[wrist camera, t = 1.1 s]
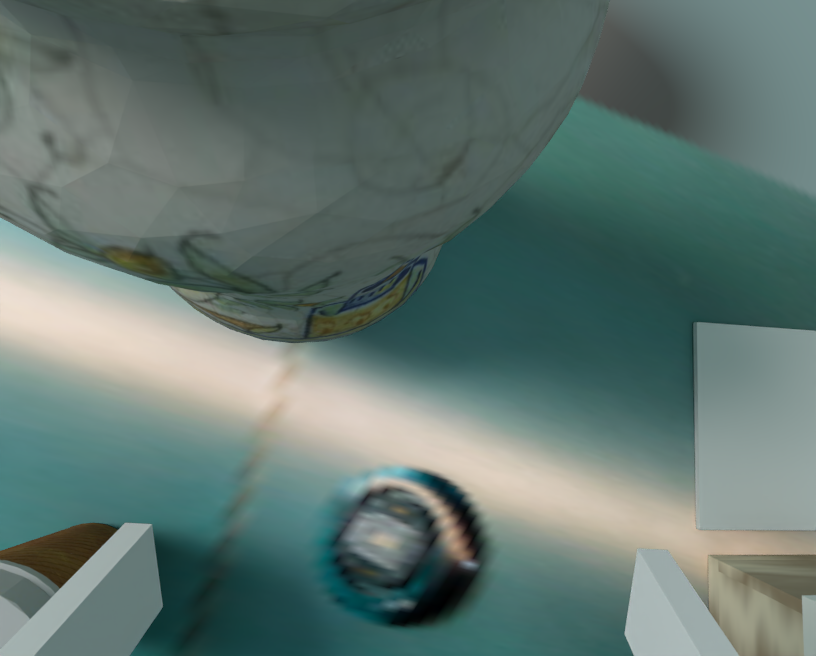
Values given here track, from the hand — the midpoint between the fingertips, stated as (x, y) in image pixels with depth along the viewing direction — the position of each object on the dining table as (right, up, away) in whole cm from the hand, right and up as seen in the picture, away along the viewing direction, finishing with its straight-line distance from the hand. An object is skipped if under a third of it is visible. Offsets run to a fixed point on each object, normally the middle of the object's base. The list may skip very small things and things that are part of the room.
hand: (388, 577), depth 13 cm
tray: (+30, -1, +26) cm, 40 cm away
